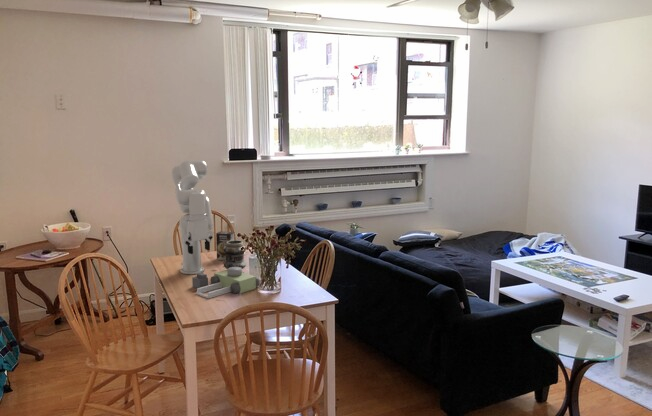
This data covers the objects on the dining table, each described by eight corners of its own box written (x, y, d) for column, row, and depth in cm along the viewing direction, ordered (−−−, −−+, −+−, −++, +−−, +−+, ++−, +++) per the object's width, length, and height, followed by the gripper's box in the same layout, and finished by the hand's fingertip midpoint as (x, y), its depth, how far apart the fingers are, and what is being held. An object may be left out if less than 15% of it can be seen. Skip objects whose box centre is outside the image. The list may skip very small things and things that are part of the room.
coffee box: (216, 260, 304) (215, 233, 301) (220, 257, 310) (219, 231, 307) (231, 260, 302) (230, 233, 300) (234, 257, 309) (234, 231, 306)
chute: (192, 287, 254) (192, 274, 253) (201, 284, 258) (200, 272, 257) (199, 289, 250) (199, 276, 249) (208, 287, 254) (207, 274, 253)
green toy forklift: (189, 291, 248) (188, 273, 246) (232, 278, 267) (232, 262, 266) (215, 301, 234) (215, 282, 233) (259, 287, 254) (259, 269, 252)
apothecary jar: (241, 278, 268) (241, 244, 265) (220, 276, 271) (219, 243, 268) (249, 271, 280) (249, 239, 277) (229, 270, 282) (228, 238, 279)
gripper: (207, 214, 257) (209, 247, 260) (177, 218, 244) (179, 253, 247) (217, 215, 252) (218, 249, 255) (186, 220, 239) (188, 256, 242)
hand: (199, 251), depth 251 cm, fingers open, 9 cm apart
